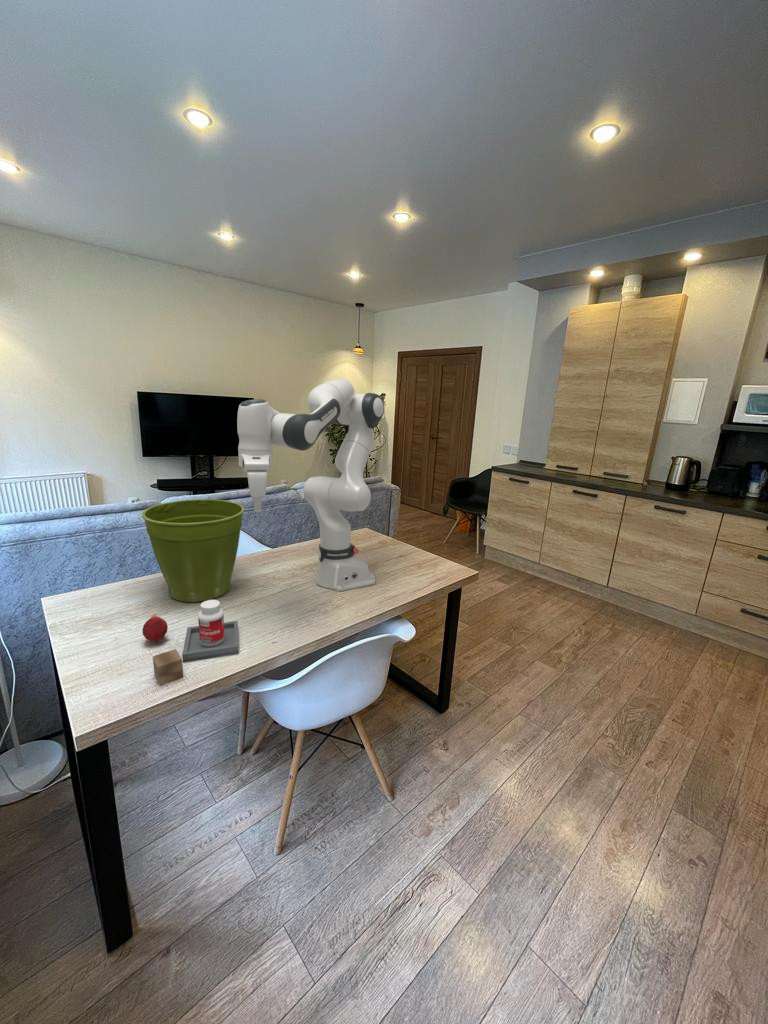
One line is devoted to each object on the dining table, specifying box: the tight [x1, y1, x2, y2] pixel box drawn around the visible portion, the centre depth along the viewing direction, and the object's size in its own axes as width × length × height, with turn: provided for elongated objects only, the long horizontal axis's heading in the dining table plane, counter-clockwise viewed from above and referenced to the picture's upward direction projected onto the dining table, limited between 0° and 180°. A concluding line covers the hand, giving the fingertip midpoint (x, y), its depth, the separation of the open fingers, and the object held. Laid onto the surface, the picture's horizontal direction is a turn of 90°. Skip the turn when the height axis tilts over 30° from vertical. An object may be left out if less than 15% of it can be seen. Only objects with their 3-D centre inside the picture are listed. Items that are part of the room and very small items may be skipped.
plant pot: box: [141, 498, 245, 603], centre depth 131 cm, size 30×30×29 cm
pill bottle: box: [197, 599, 225, 647], centre depth 104 cm, size 6×6×11 cm
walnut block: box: [152, 648, 184, 687], centre depth 92 cm, size 5×5×5 cm
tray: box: [181, 620, 239, 663], centre depth 106 cm, size 13×13×2 cm
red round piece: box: [141, 613, 169, 643], centre depth 105 cm, size 6×6×8 cm
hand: (256, 507), depth 114 cm, fingers open, 8 cm apart
